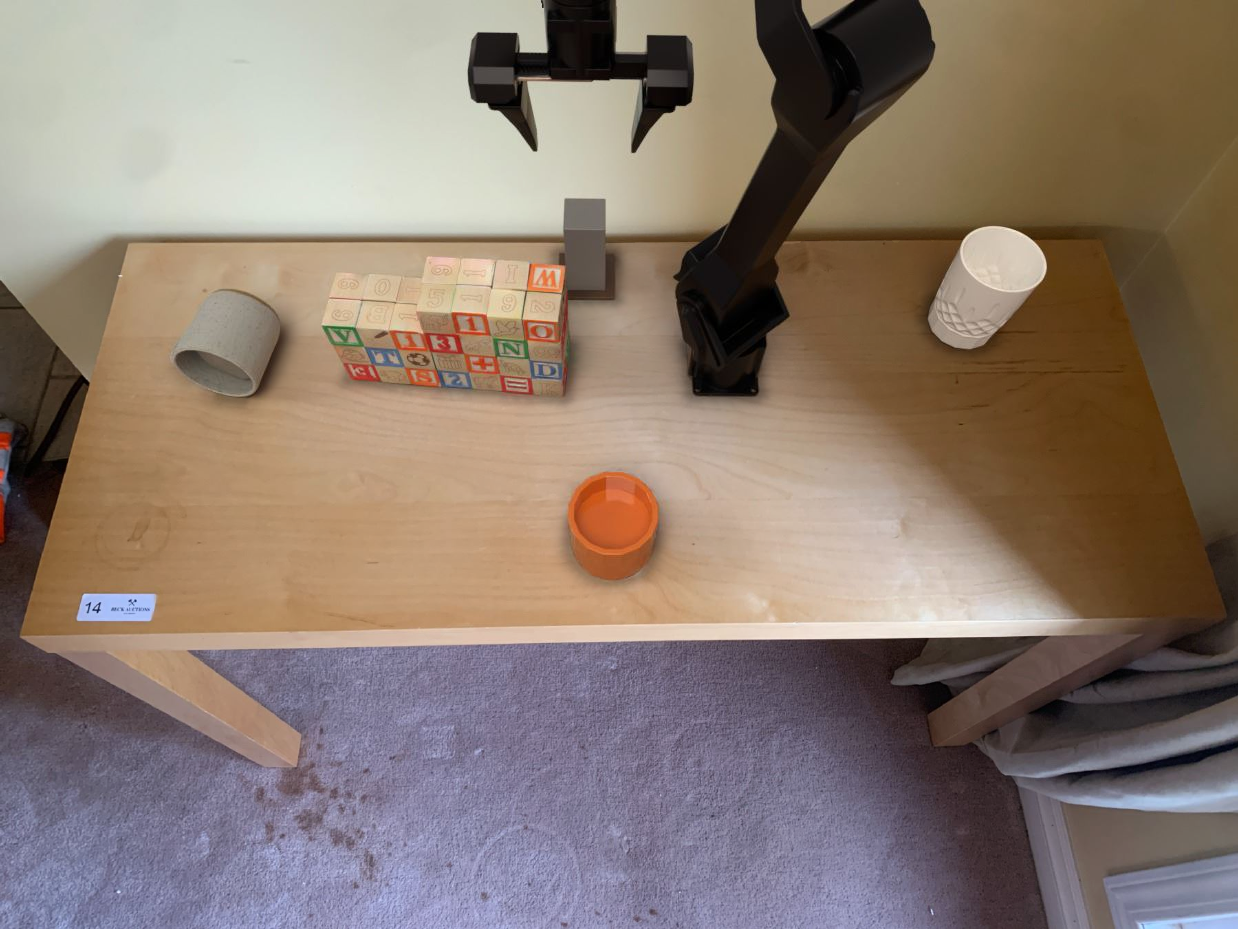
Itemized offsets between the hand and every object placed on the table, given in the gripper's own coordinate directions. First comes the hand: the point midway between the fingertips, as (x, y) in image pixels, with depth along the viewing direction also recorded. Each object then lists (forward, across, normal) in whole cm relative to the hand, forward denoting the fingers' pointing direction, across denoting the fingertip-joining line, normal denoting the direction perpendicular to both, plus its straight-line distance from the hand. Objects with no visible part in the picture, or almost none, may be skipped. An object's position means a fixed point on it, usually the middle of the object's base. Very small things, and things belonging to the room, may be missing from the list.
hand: (584, 149), depth 74 cm
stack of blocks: (+13, +12, +16) cm, 24 cm away
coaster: (+13, 0, +4) cm, 14 cm away
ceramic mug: (+13, +35, +16) cm, 41 cm away
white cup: (+13, -39, +10) cm, 42 cm away
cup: (+13, -3, +34) cm, 37 cm away
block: (+13, 0, +5) cm, 13 cm away
